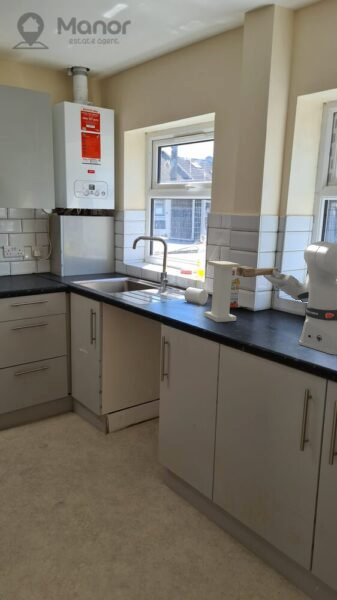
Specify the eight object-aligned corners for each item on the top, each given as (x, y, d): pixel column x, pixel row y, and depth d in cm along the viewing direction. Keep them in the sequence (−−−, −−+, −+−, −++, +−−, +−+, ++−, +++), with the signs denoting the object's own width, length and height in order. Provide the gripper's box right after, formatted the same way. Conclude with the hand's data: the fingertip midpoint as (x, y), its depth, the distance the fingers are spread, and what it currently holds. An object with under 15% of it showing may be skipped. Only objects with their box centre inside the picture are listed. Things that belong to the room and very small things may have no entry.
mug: (198, 305, 238) (199, 290, 236) (183, 302, 244) (184, 287, 243) (211, 302, 246) (212, 288, 245) (197, 299, 253) (198, 285, 251)
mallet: (281, 275, 215) (281, 266, 215) (245, 277, 207) (246, 268, 206) (270, 272, 223) (271, 264, 222) (236, 274, 214) (236, 266, 214)
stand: (235, 320, 207) (240, 264, 202) (217, 322, 202) (221, 264, 198) (222, 314, 217) (226, 261, 212) (204, 316, 213) (207, 261, 208)
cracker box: (222, 308, 234) (224, 267, 230) (217, 305, 239) (220, 266, 235) (246, 307, 237) (250, 268, 233) (242, 305, 243) (245, 266, 239)
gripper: (299, 293, 214) (280, 279, 208) (272, 286, 232) (254, 273, 226) (305, 281, 214) (286, 267, 208) (278, 275, 233) (260, 262, 226)
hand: (269, 270), depth 217 cm, fingers closed on mallet, 3 cm apart
